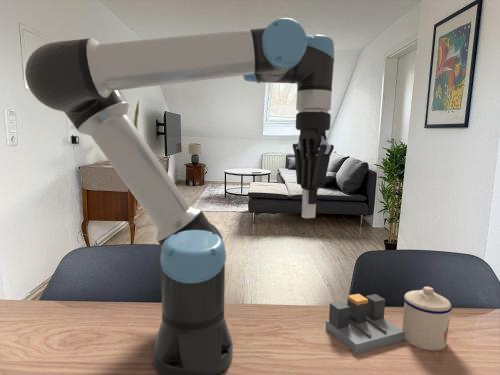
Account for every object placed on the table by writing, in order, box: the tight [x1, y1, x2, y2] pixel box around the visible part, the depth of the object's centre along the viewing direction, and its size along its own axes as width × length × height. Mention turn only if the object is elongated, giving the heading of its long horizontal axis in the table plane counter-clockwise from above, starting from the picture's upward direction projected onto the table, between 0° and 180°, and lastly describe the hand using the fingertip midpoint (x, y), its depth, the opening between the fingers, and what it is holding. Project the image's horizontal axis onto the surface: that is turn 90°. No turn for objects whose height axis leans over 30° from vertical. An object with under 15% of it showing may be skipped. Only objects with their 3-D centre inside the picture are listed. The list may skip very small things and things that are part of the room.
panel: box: [325, 293, 405, 355], centre depth 75 cm, size 13×10×6 cm
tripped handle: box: [346, 293, 368, 324], centre depth 77 cm, size 3×3×5 cm
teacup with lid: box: [401, 286, 453, 352], centre depth 75 cm, size 12×9×12 cm
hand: (308, 217), depth 79 cm, fingers closed
